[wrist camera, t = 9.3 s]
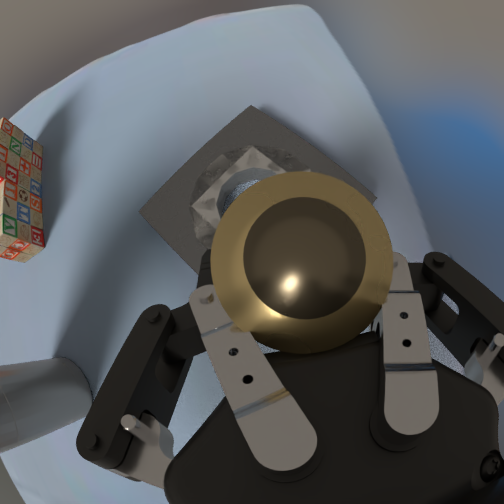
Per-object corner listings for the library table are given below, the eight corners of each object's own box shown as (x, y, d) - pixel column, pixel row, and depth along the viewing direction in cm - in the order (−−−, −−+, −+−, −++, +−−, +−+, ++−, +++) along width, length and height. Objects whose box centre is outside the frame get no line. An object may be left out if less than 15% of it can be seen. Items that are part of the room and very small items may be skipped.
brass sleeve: (289, 344, 16) (306, 393, 6) (232, 288, 17) (171, 257, 7) (345, 285, 17) (426, 252, 7) (287, 231, 18) (298, 138, 8)
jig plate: (260, 330, 28) (258, 333, 25) (150, 219, 31) (138, 211, 28) (368, 207, 29) (377, 197, 26) (253, 119, 32) (250, 105, 30)
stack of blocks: (46, 248, 33) (-14, 228, 21) (25, 263, 33) (-32, 249, 21) (43, 146, 37) (3, 115, 25) (23, 163, 37) (-17, 137, 25)
